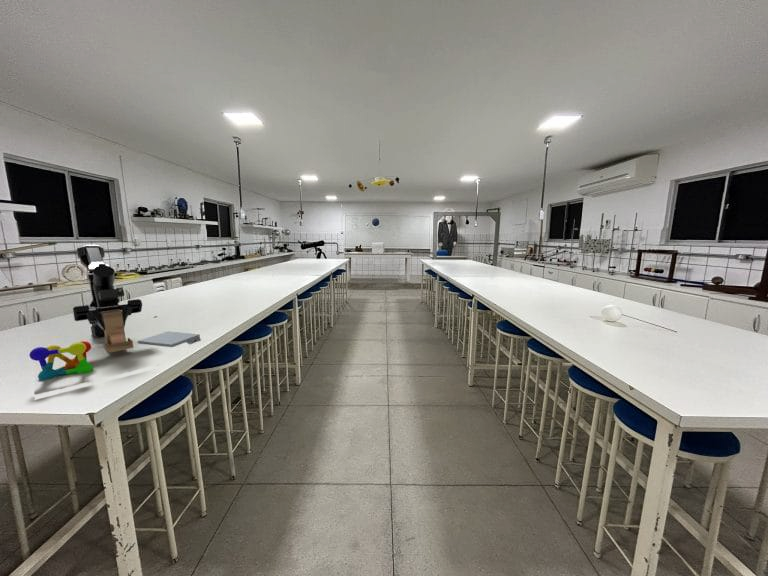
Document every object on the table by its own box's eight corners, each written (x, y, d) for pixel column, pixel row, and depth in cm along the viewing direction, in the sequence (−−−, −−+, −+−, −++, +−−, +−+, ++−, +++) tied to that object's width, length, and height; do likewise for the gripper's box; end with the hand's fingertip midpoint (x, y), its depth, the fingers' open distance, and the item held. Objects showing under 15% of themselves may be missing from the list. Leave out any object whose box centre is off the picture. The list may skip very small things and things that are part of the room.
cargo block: (110, 345, 107) (109, 335, 107) (123, 342, 110) (122, 333, 109) (112, 347, 105) (111, 337, 104) (125, 344, 108) (124, 335, 107)
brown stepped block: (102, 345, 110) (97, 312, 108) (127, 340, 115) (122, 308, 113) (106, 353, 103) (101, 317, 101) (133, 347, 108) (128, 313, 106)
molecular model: (73, 367, 101) (102, 330, 101) (80, 391, 94) (111, 352, 95) (8, 361, 88) (42, 319, 89) (11, 388, 82) (48, 343, 83)
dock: (137, 345, 120) (137, 340, 120) (168, 335, 133) (167, 331, 132) (171, 349, 116) (171, 344, 116) (200, 338, 129) (199, 334, 128)
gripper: (68, 283, 103) (76, 320, 97) (138, 278, 117) (148, 310, 111) (70, 302, 109) (78, 338, 104) (136, 295, 123) (145, 327, 118)
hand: (114, 328), depth 109 cm, fingers closed on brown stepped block, 5 cm apart
